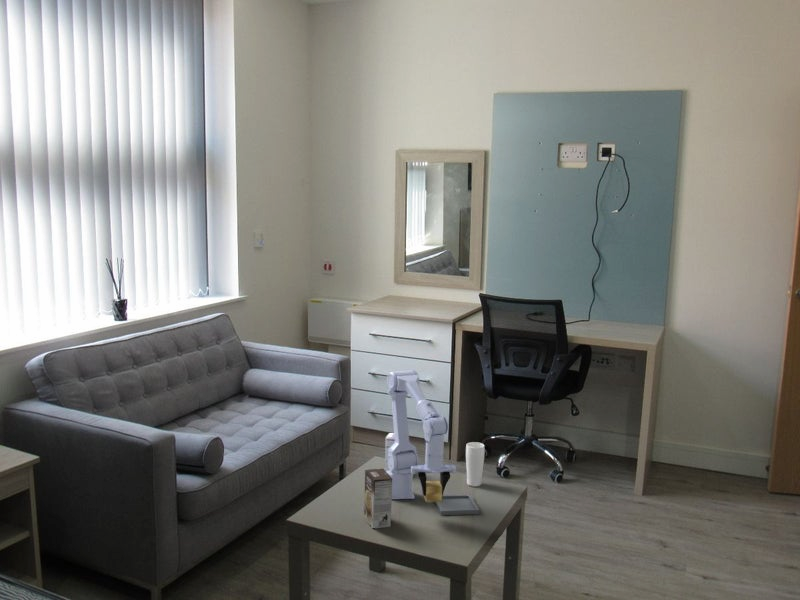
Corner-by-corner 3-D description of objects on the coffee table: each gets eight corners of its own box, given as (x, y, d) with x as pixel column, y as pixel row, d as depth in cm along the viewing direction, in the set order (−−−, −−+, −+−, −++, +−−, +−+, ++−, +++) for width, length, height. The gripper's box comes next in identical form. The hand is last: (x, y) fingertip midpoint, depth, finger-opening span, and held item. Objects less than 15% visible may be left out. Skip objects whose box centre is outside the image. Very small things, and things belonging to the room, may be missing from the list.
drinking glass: (482, 488, 259) (484, 448, 257) (464, 487, 260) (465, 447, 258) (483, 481, 265) (485, 442, 263) (465, 480, 266) (466, 441, 264)
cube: (426, 502, 228) (426, 487, 228) (423, 495, 233) (424, 481, 233) (441, 501, 229) (442, 486, 228) (438, 495, 234) (439, 480, 233)
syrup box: (399, 475, 269) (400, 438, 267) (384, 473, 270) (385, 436, 268) (402, 470, 275) (403, 433, 273) (387, 468, 276) (388, 432, 274)
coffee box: (363, 517, 232) (364, 469, 230) (381, 514, 234) (383, 467, 232) (372, 529, 223) (373, 479, 221) (391, 526, 225) (392, 477, 223)
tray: (440, 515, 235) (441, 510, 235) (433, 499, 248) (433, 495, 248) (479, 514, 237) (479, 509, 237) (470, 498, 250) (470, 494, 250)
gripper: (413, 458, 224) (412, 499, 226) (459, 457, 226) (457, 498, 228) (410, 450, 231) (409, 491, 233) (454, 450, 233) (452, 490, 235)
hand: (432, 494), depth 231 cm, fingers closed on cube, 5 cm apart
